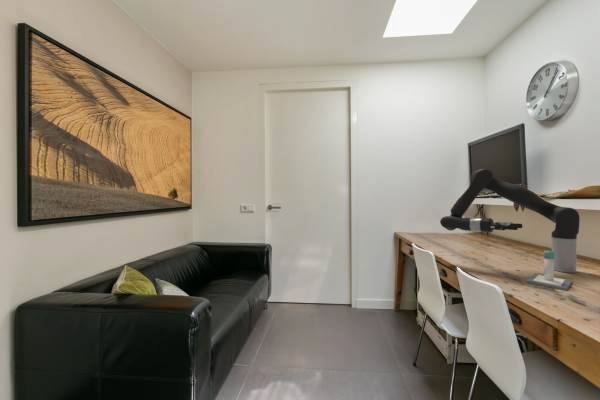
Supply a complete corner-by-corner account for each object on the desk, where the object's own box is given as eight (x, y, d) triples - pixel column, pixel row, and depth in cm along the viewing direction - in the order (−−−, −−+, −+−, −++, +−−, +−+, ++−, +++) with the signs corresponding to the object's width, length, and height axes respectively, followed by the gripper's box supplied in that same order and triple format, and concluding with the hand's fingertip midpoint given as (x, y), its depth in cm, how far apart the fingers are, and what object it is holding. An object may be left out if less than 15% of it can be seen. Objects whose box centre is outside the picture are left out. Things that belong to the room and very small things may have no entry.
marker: (544, 278, 121) (544, 250, 121) (554, 279, 118) (555, 251, 118) (542, 279, 119) (543, 251, 119) (553, 281, 116) (553, 252, 116)
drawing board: (534, 275, 129) (534, 273, 129) (572, 282, 118) (572, 279, 118) (526, 282, 119) (526, 279, 119) (566, 290, 108) (566, 287, 108)
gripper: (476, 219, 136) (515, 220, 124) (485, 217, 145) (523, 218, 132) (476, 233, 136) (516, 236, 124) (486, 230, 145) (523, 232, 132)
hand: (519, 226), depth 128 cm, fingers open, 8 cm apart
